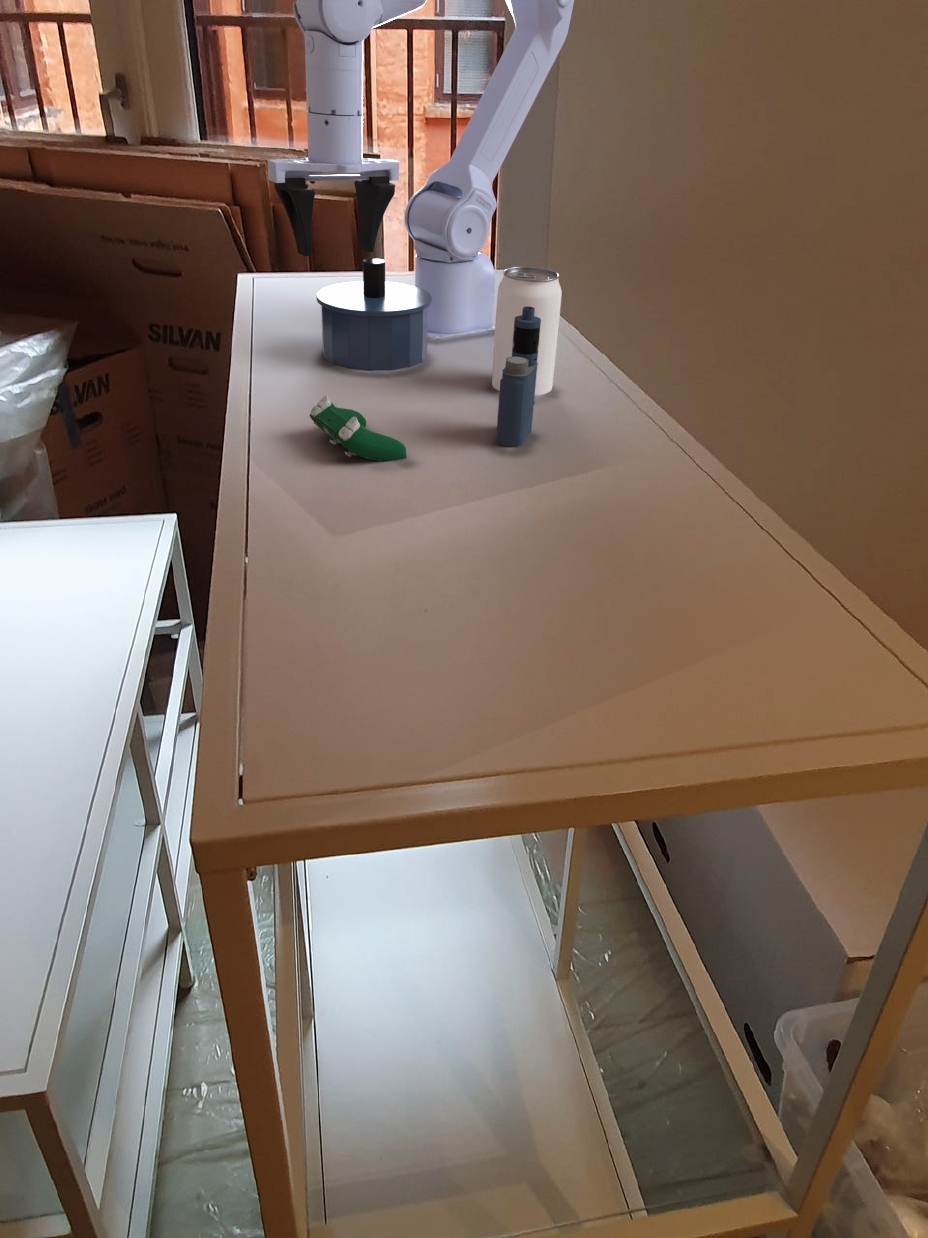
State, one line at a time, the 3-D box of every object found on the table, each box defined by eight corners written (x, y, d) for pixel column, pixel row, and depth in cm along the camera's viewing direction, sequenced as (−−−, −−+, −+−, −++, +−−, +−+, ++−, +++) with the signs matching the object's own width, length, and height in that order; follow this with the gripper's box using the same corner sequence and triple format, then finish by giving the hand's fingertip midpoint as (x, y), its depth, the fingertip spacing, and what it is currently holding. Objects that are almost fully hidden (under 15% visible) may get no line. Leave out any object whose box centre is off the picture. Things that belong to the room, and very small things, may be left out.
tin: (393, 337, 111) (394, 282, 107) (445, 366, 103) (447, 307, 99) (306, 350, 105) (303, 292, 101) (353, 381, 97) (351, 320, 94)
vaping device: (534, 434, 87) (546, 306, 81) (519, 454, 83) (530, 321, 76) (508, 429, 88) (518, 302, 81) (492, 449, 84) (501, 317, 77)
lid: (395, 286, 108) (395, 243, 105) (453, 313, 99) (455, 268, 97) (297, 297, 102) (295, 253, 99) (349, 327, 93) (348, 280, 91)
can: (547, 404, 94) (559, 283, 88) (486, 396, 95) (493, 277, 88) (555, 383, 99) (567, 268, 93) (496, 377, 100) (504, 262, 94)
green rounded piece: (339, 449, 87) (295, 415, 82) (364, 417, 86) (321, 381, 82) (387, 487, 80) (342, 451, 76) (414, 452, 80) (370, 415, 76)
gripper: (285, 115, 88) (291, 264, 95) (415, 118, 95) (410, 256, 102) (256, 108, 92) (263, 250, 100) (381, 111, 100) (379, 243, 107)
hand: (336, 252), depth 101 cm, fingers open, 7 cm apart
